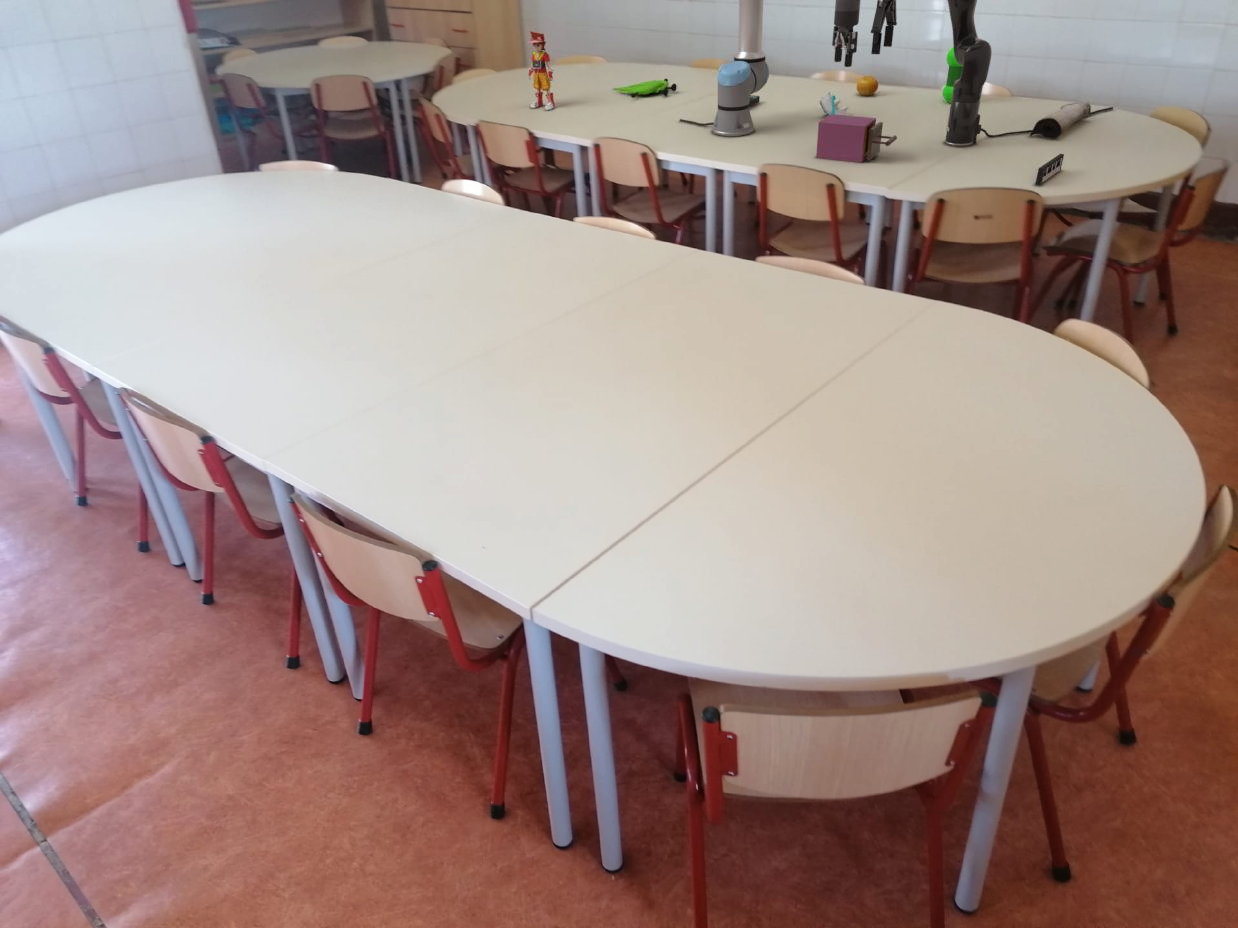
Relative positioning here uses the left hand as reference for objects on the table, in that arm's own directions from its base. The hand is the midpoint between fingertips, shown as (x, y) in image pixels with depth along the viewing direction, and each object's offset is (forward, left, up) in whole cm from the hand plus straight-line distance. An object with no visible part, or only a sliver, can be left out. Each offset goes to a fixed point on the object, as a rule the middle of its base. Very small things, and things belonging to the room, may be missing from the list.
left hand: (881, 50), depth 308 cm
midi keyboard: (+64, -30, -28) cm, 76 cm away
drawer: (+5, -29, -27) cm, 40 cm away
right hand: (-3, -31, +1) cm, 31 cm away
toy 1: (-142, -6, -28) cm, 144 cm away
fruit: (-20, +56, -28) cm, 66 cm away
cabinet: (-1, -29, -28) cm, 40 cm away
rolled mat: (+59, +28, -28) cm, 71 cm away
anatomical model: (-20, +16, -28) cm, 38 cm away
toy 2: (-114, +32, -28) cm, 122 cm away
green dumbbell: (+16, +54, -28) cm, 63 cm away
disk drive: (-62, +23, -28) cm, 72 cm away
